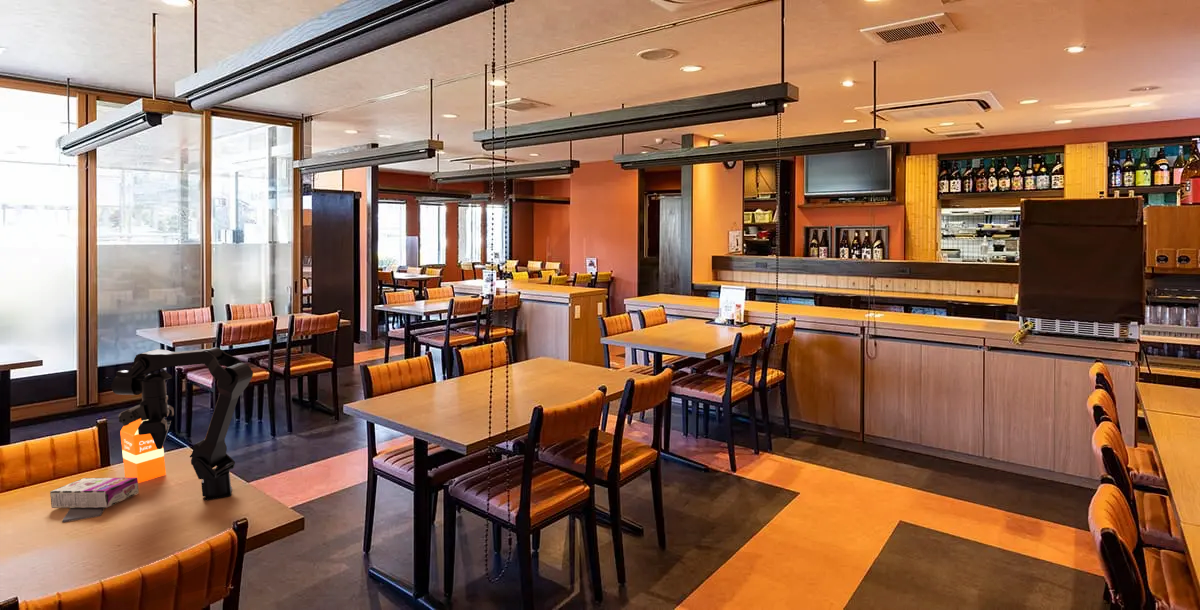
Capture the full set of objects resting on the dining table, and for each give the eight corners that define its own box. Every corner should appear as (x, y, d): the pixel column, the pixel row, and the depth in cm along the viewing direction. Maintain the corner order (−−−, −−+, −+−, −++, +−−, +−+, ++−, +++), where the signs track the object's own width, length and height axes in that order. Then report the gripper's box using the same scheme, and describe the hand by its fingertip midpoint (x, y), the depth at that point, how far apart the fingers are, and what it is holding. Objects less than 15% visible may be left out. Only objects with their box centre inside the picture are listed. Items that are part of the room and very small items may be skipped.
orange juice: (138, 483, 196) (131, 418, 193) (124, 477, 200) (117, 413, 198) (166, 474, 202) (160, 411, 199) (153, 468, 207) (146, 406, 204)
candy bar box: (139, 494, 187) (86, 493, 189) (138, 477, 187) (84, 476, 188) (106, 509, 176) (50, 508, 178) (105, 491, 176) (48, 490, 177)
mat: (107, 502, 183) (107, 500, 182) (100, 515, 175) (100, 513, 175) (71, 508, 179) (71, 506, 179) (62, 522, 171) (62, 520, 171)
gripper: (125, 390, 190) (131, 443, 192) (112, 407, 173) (118, 464, 176) (171, 386, 195) (176, 437, 197) (162, 402, 178) (168, 457, 180)
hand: (159, 448), depth 187 cm, fingers closed
